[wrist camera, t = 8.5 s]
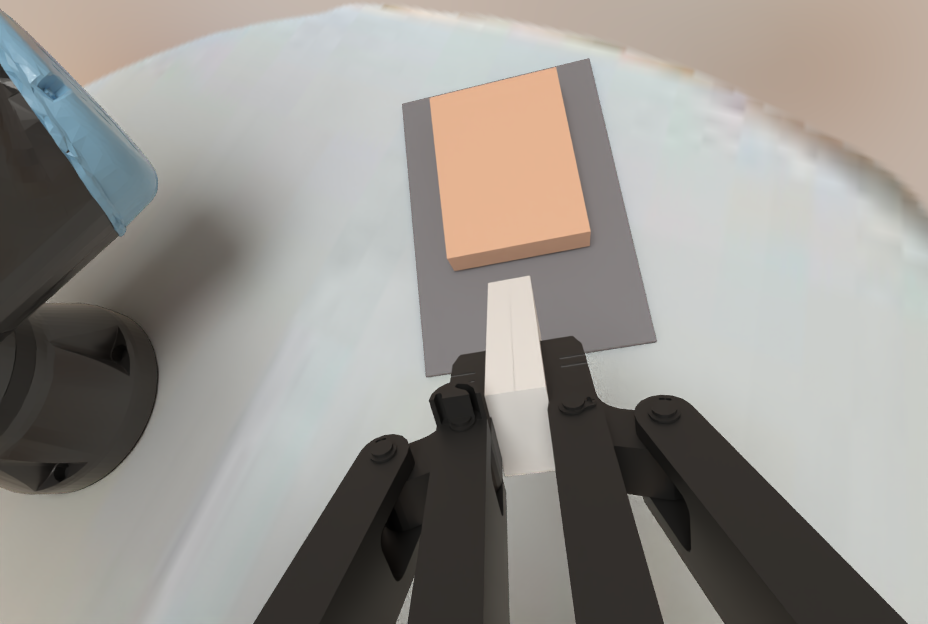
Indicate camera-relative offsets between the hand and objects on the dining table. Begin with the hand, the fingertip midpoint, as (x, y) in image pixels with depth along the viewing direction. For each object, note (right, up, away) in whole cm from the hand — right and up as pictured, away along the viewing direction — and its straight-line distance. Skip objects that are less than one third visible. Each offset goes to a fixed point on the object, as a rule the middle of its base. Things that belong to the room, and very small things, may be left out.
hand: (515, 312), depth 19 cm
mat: (+2, +8, +21) cm, 23 cm away
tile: (+2, +4, +18) cm, 19 cm away
